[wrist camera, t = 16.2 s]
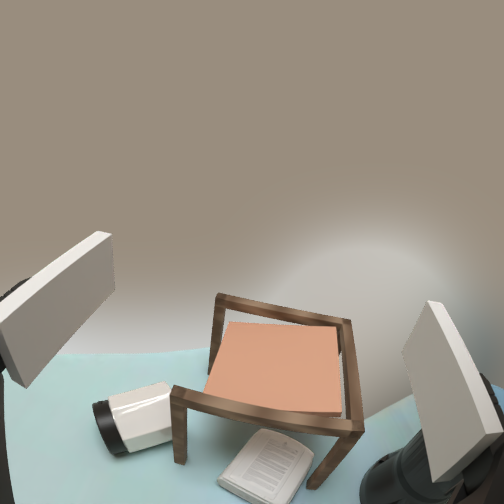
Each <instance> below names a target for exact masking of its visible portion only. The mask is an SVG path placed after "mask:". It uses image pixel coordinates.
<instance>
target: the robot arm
mask: <svg viewBox="0 0 504 504" xmlns="http://www.w3.org/2000/svg"><path fill="white" fill-rule="evenodd" d="M114 290H115V282H114V268H113V248H112V234H109V233H105V232H100V231H97V232H95V233H94V234H92V235H91V236H89V237H88V238H86V239H85V240H83V241H82V242H80V243H79V244H77V245H76V246H74V247H73V248H72V249H70V250H69V251H67V252H66V253H65V254H63V255H62V256H60V257H59V258H57V259H56V260H55V261H53V262H52V263H50V264H49V265H48V266H46V267H45V268H44V269H42V270H41V271H40V272H38V273H37V274H36V275H34V276H33V277H30V278H28V279H25V280H23V281H21V282H19V283H18V284H16V285H15V286H14V287H12V288H11V290H10V291H8V292H6V293H5V294H4V296H1V297H0V504H15V502H14V497H13V492H12V486H11V480H10V474H9V467H8V459H7V450H6V438H5V423H4V379H3V375H2V371H3V370H4V369H5V368H6V369H7V371H8V373H9V375H10V377H11V379H12V380H13V381H15V382H16V383H18V384H19V385H21V386H23V387H24V388H26V389H27V388H28V387H29V385H30V384H31V383H32V382H33V380H34V379H35V378H36V377H37V376H38V375H39V373H40V372H41V371H42V370H43V369H44V367H45V366H46V365H47V364H48V363H49V362H50V360H51V359H52V358H53V357H54V356H55V355H56V354H57V352H58V351H59V350H60V349H61V348H62V347H63V346H64V344H65V343H66V342H67V341H68V340H69V339H70V338H71V337H72V335H73V334H74V333H75V332H76V331H77V330H78V329H79V328H80V327H81V325H82V324H83V323H84V322H85V321H86V320H87V319H88V318H89V317H90V316H91V315H92V314H93V313H94V312H95V310H96V309H97V308H98V307H99V306H100V305H101V304H102V303H103V302H104V301H105V300H106V299H107V298H108V297H109V296H110V295H111V294H112V293H113V292H114ZM402 354H403V358H404V361H405V365H406V368H407V372H408V375H409V379H410V382H411V386H412V390H413V394H414V398H415V402H416V406H417V410H418V414H419V418H420V422H421V427H422V429H421V430H420V431H419V432H418V433H417V434H416V435H415V436H414V437H413V439H412V440H411V441H410V442H409V443H408V444H407V445H406V446H405V447H404V448H401V449H399V450H397V451H395V452H392V453H390V454H388V455H386V456H384V457H382V458H381V459H379V460H378V461H377V462H376V463H375V464H374V465H373V466H372V467H371V468H370V469H369V470H368V471H367V473H366V474H365V476H364V478H363V480H362V483H361V487H360V501H361V504H445V503H446V502H447V500H448V499H449V501H448V502H447V504H504V389H502V388H500V387H498V386H495V385H492V384H490V383H489V381H488V380H487V379H486V378H485V377H484V375H483V374H481V373H479V372H478V370H477V368H476V366H475V364H474V362H473V360H472V358H471V356H470V354H469V352H468V350H467V348H466V346H465V344H464V342H463V340H462V338H461V336H460V335H459V333H458V331H457V329H456V328H455V326H454V324H453V322H452V320H451V318H450V316H449V315H448V313H447V311H446V309H445V308H444V306H443V304H442V303H439V302H434V301H428V300H427V302H426V304H425V306H424V308H423V310H422V312H421V314H420V316H419V318H418V321H417V323H416V325H415V327H414V329H413V331H412V333H411V335H410V336H409V338H408V340H407V342H406V344H405V346H404V348H403V350H402ZM449 497H450V498H449Z"/></svg>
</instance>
